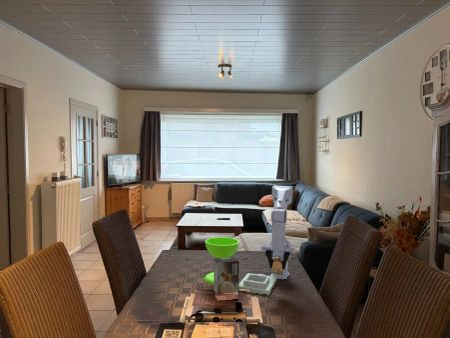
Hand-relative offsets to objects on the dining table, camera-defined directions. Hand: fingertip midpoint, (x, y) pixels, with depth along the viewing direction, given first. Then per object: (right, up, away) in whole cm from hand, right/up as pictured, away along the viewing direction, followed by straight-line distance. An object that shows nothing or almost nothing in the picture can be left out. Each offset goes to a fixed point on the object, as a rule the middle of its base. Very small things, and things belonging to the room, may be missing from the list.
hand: (277, 268), depth 155 cm
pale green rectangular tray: (-8, -10, +7) cm, 15 cm away
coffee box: (-22, -10, -7) cm, 25 cm away
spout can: (0, -2, 0) cm, 2 cm away
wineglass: (-24, -9, +15) cm, 30 cm away
